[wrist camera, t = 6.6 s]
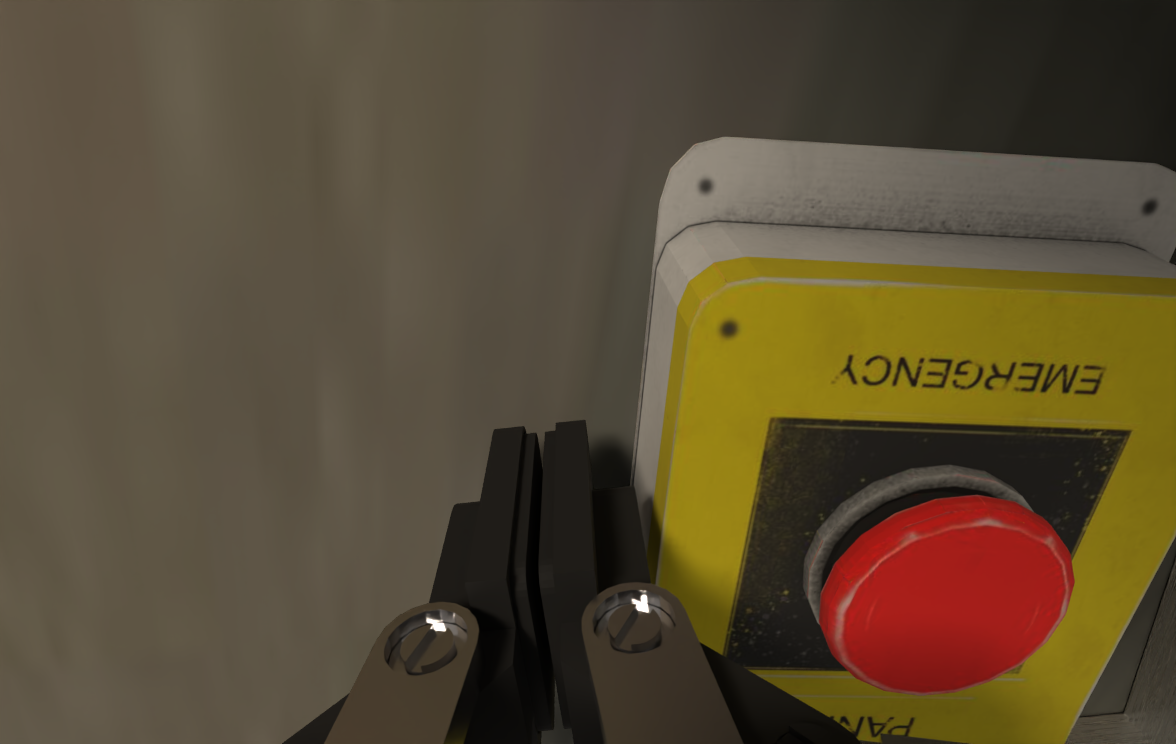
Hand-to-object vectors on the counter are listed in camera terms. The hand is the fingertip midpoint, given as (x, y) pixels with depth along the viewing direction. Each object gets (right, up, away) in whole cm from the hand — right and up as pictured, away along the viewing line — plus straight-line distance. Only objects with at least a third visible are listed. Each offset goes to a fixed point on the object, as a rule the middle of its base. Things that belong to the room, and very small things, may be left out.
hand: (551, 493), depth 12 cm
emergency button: (+6, -1, +3) cm, 7 cm away
